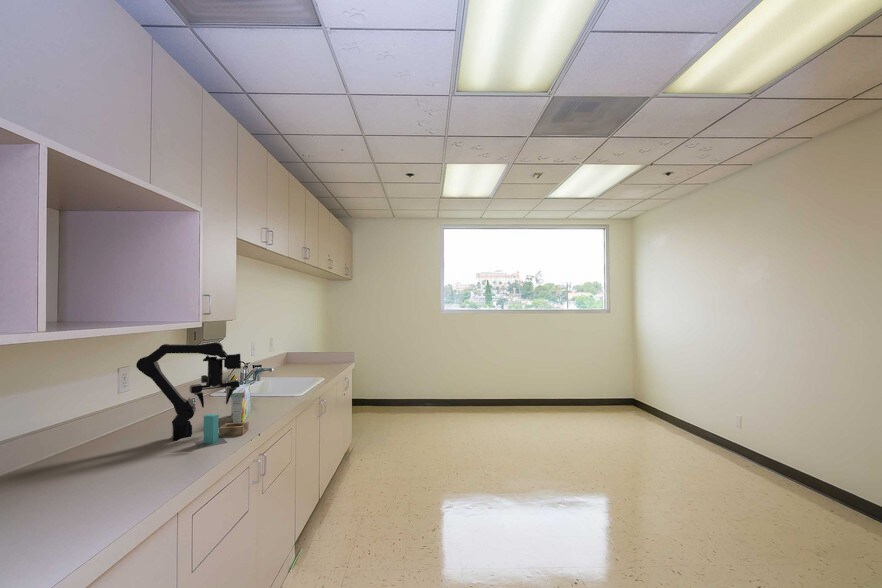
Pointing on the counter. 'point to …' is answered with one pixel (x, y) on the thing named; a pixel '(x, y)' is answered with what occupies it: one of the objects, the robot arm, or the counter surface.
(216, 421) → the teal block
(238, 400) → the snack box
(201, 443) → the rubber mat
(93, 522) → the counter surface
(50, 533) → the counter surface
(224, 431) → the slot box
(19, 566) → the counter surface
